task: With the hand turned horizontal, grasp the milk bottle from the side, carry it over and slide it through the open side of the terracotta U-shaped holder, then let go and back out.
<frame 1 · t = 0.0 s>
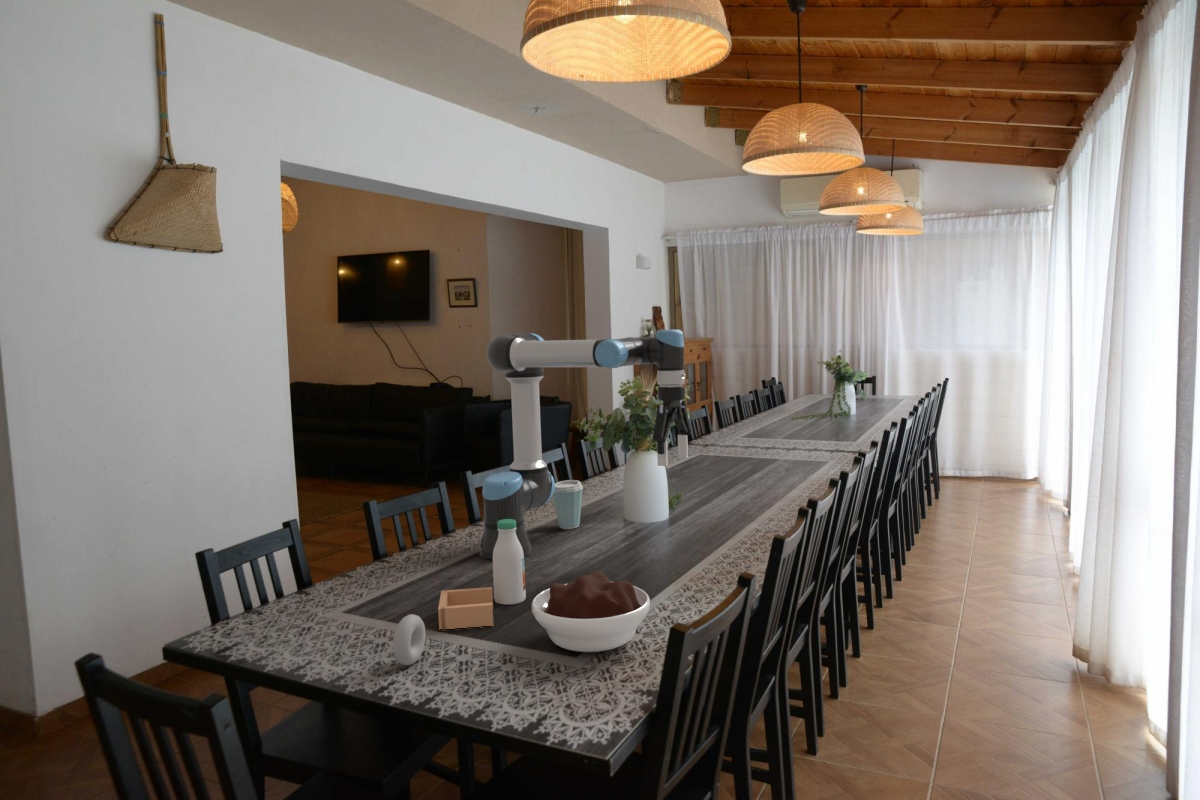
hand: (673, 461, 233), 28 cm above the table, tool pointing down, fingers open, 13 cm apart
donut: (411, 664, 170), on the table
milk bottle: (510, 601, 206), on the table
disposable coffee cup: (568, 527, 278), on the table
bowl of chocolate pudding: (592, 643, 178), on the table
holder: (471, 618, 195), on the table
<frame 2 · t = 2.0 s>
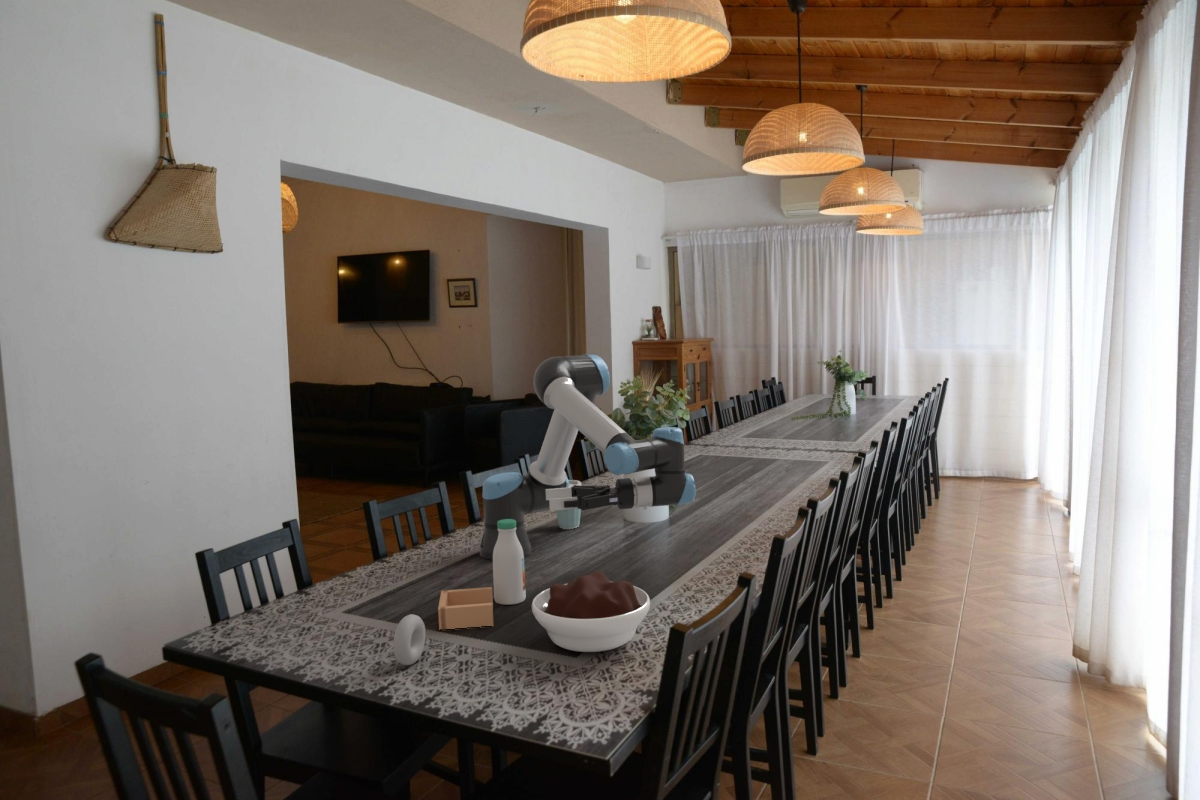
hand: (547, 499, 206), 24 cm above the table, tool horizontal, fingers open, 13 cm apart
nothing on the table moved.
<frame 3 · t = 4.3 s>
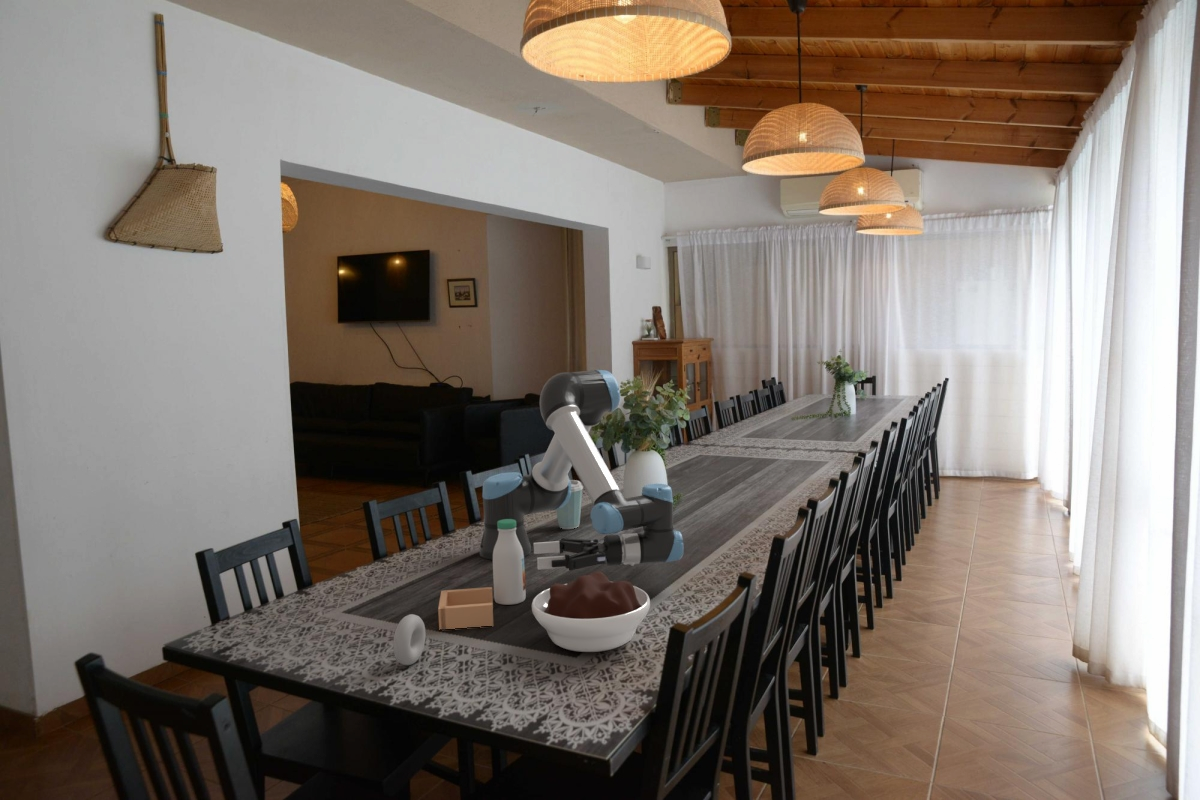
hand: (535, 555, 206), 11 cm above the table, tool horizontal, fingers open, 13 cm apart
nothing on the table moved.
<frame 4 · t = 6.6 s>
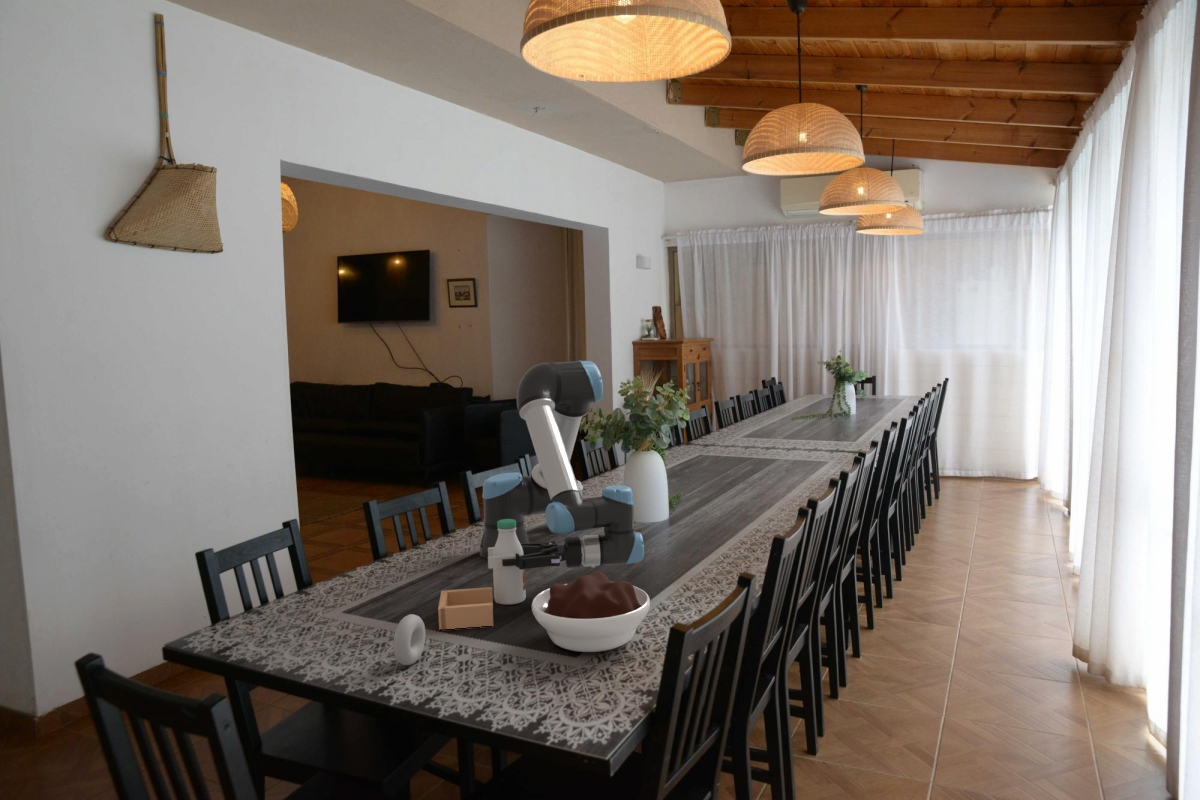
hand: (488, 557, 205), 11 cm above the table, tool horizontal, fingers closed on milk bottle, 7 cm apart
milk bottle: (510, 601, 206), on the table, touching gripper
everything else where it was.
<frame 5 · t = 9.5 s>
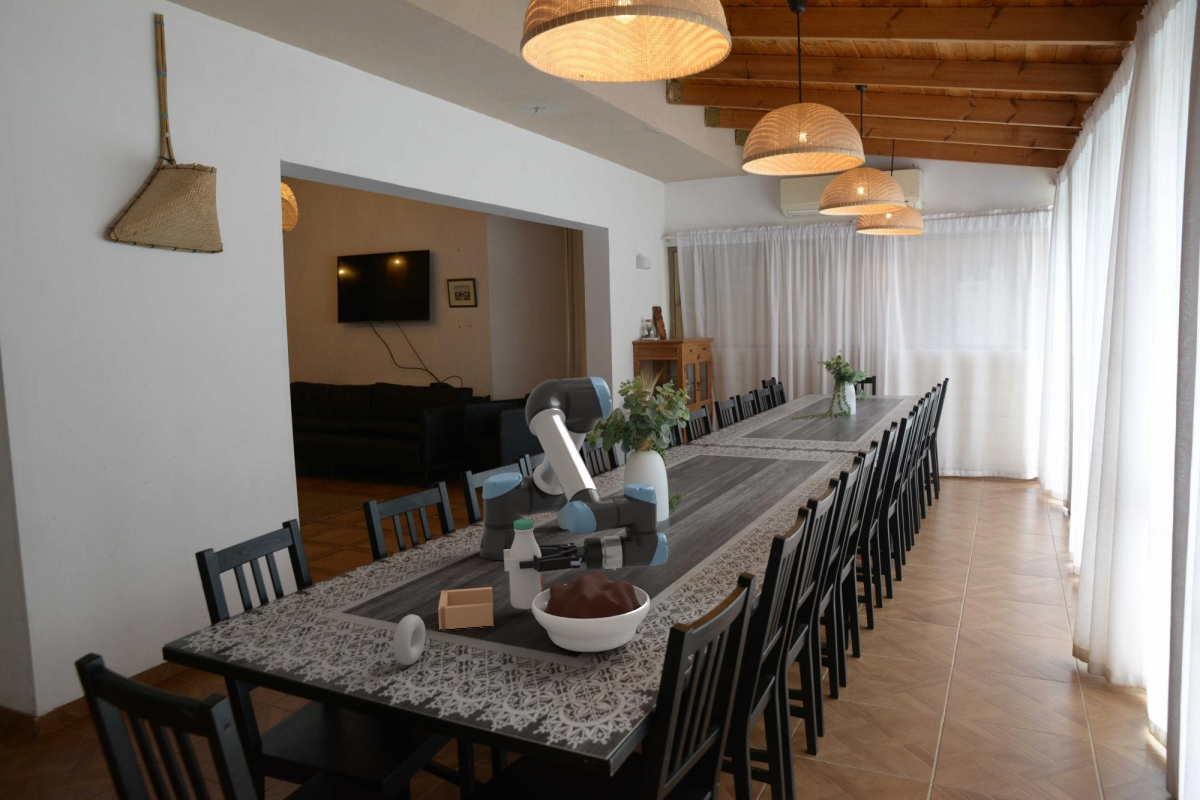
hand: (504, 560, 194), 13 cm above the table, tool horizontal, fingers closed on milk bottle, 7 cm apart
milk bottle: (527, 605, 196), point 2 cm above the table, touching gripper
everything else where it was.
when the fingers open (12 cm above the table, at t = 12.5 s): milk bottle drops 1 cm, on the table.
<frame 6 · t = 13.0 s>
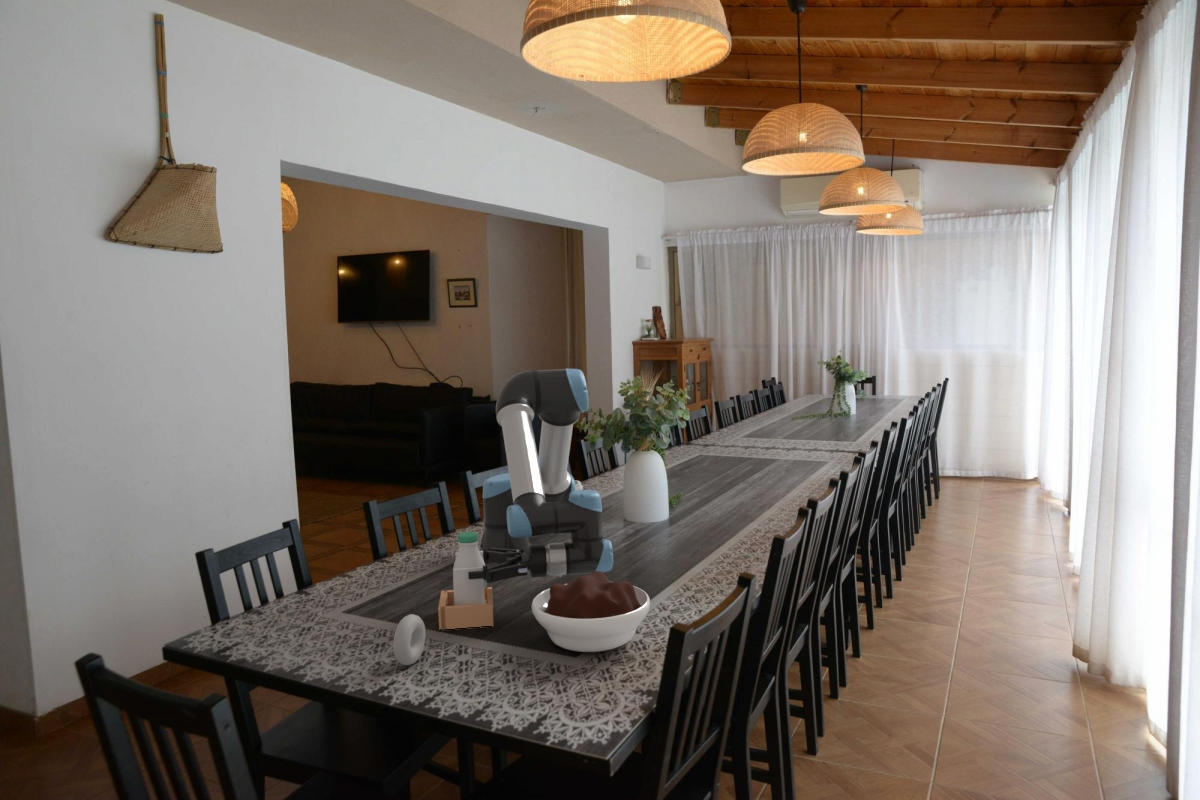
hand: (454, 566, 193), 12 cm above the table, tool horizontal, fingers open, 13 cm apart
milk bottle: (471, 618, 195), on the table
everything else where it was.
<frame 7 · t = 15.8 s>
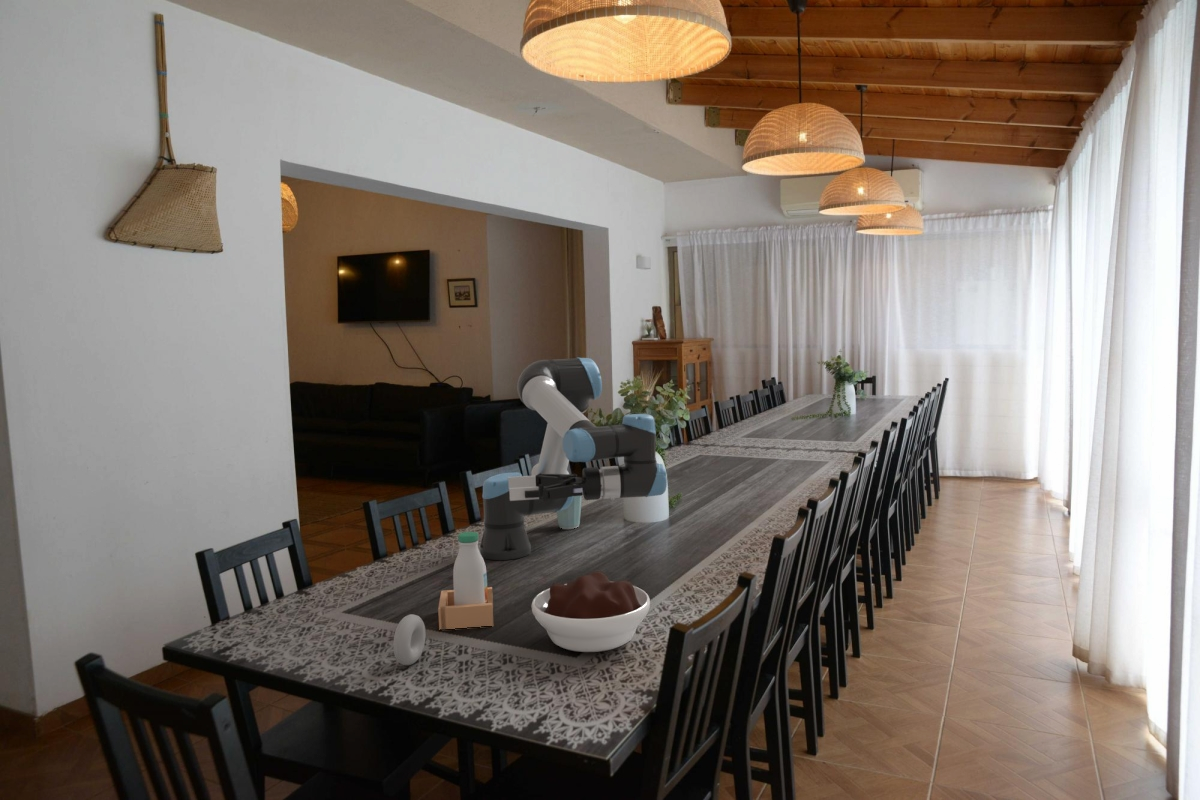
hand: (508, 488, 194), 30 cm above the table, tool horizontal, fingers open, 13 cm apart
nothing on the table moved.
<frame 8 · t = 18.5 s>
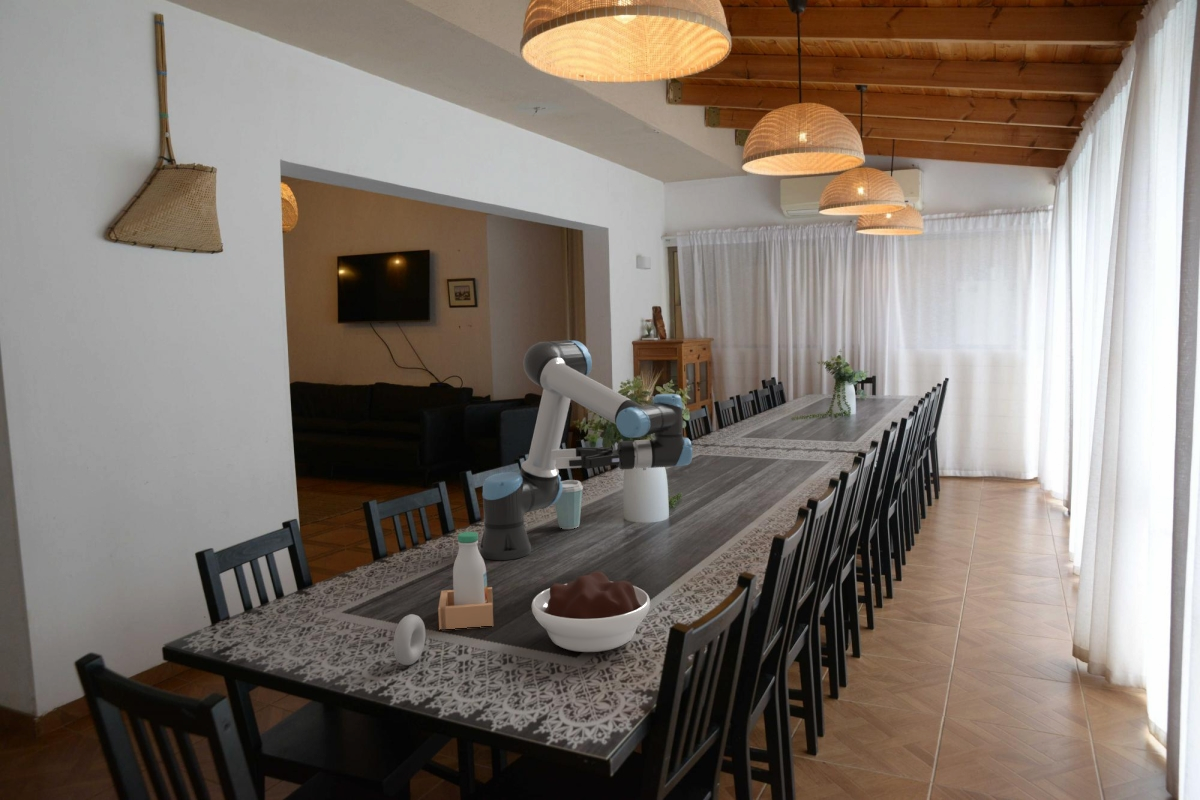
hand: (553, 459, 220), 32 cm above the table, tool horizontal, fingers open, 13 cm apart
nothing on the table moved.
at the end: milk bottle 0.2 cm from the holder (horizontally); milk bottle tilted 0°; the gripper is holding nothing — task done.
